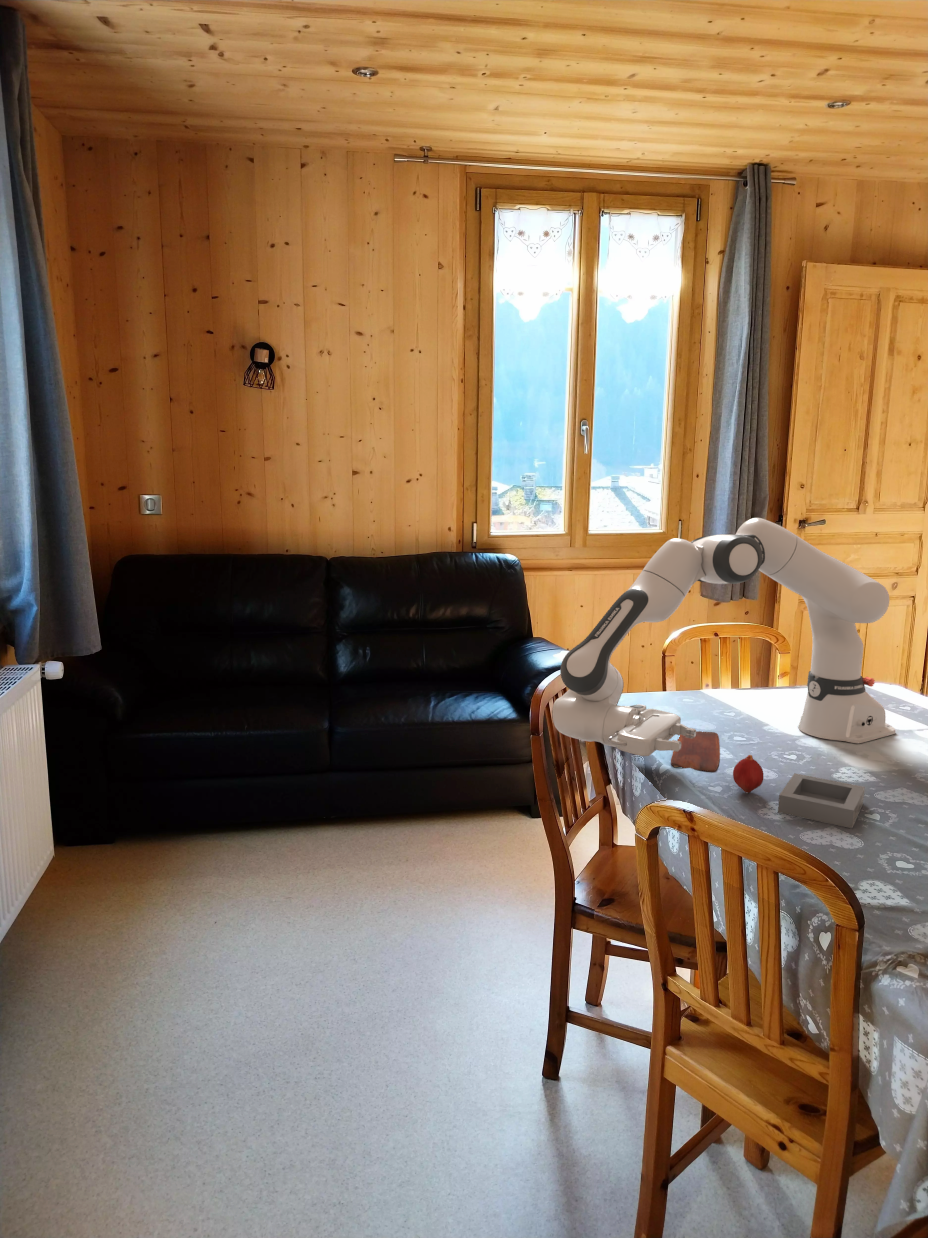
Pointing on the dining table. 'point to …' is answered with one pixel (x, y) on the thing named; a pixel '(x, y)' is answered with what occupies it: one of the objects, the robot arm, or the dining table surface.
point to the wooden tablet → (698, 752)
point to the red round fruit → (748, 774)
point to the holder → (821, 800)
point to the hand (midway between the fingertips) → (687, 740)
